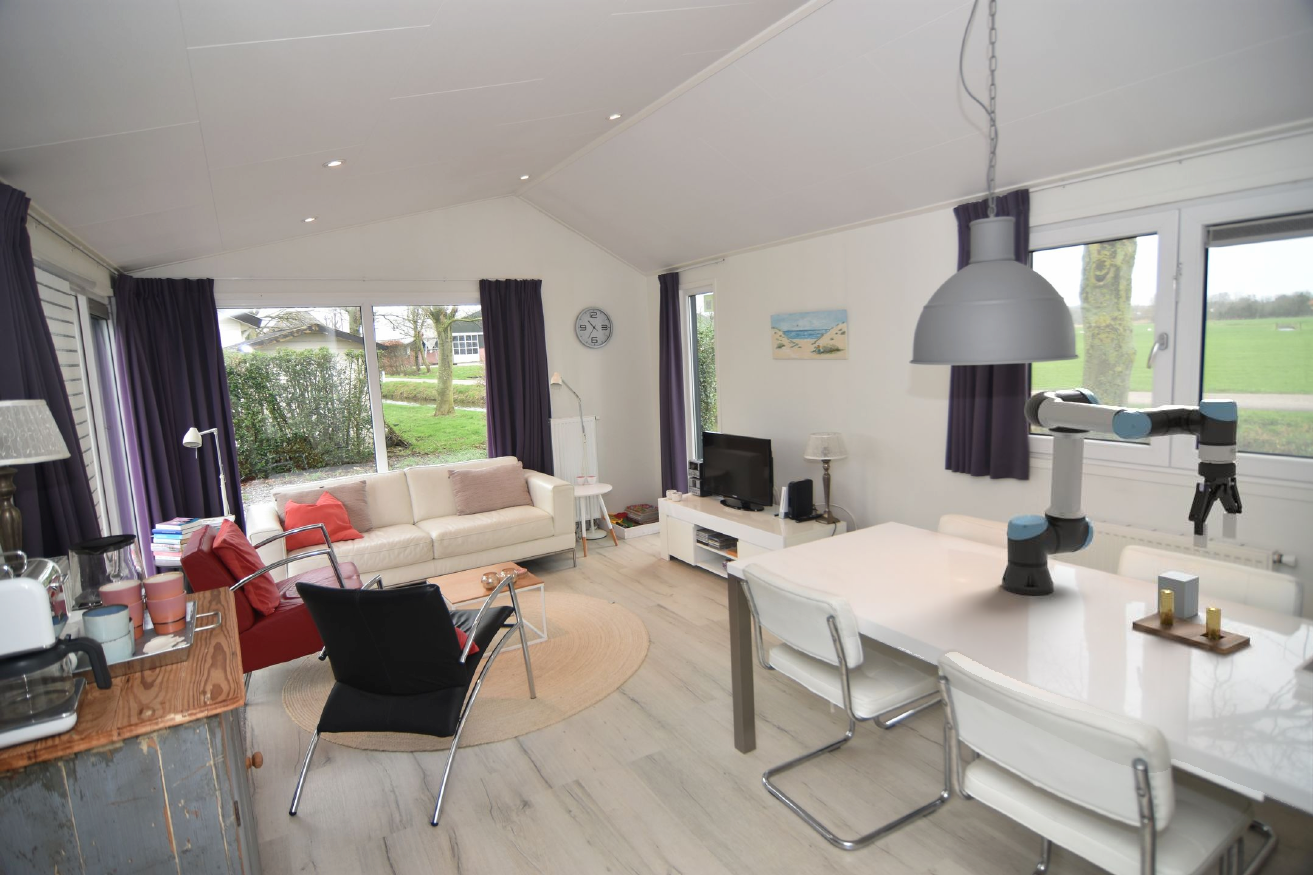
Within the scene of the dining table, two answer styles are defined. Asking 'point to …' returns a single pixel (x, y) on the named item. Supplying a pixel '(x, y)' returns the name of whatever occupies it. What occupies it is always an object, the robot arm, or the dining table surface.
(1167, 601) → the pin
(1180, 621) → the board
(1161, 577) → the block
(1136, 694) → the dining table surface
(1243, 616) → the dining table surface
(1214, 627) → the pin
